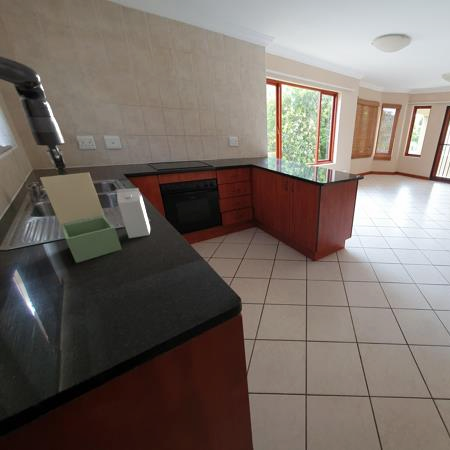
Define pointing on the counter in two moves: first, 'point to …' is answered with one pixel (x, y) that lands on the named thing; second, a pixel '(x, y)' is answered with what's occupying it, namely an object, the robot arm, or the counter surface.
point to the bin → (91, 238)
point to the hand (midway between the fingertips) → (64, 178)
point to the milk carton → (133, 212)
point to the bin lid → (72, 197)
